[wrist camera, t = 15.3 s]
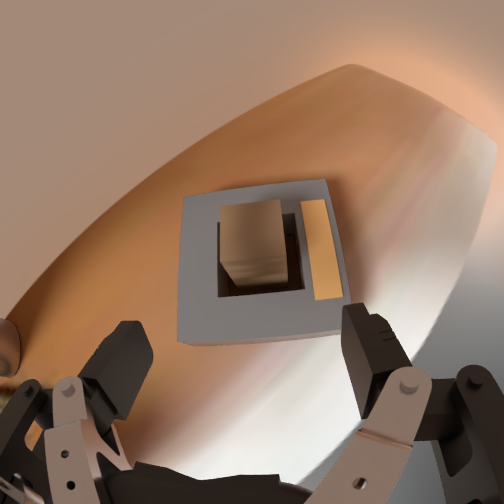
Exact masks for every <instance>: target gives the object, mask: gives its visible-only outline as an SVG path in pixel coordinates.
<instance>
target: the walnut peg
mask: <svg viewBox="0 0 504 504" xmlns="http://www.w3.org/2000/svg"><path fill="white" fill-rule="evenodd" d="M220 262H221V264H222V265H223V267H224V268H225V270H226V271H227V273H228V274H229V276H230V277H231V279H232V280H233V282H234V283H235V285H236V286H237V288H238V289H239V291H240V292H241V293H243V292H255V291H266V290H277V289H287V288H288V274H287V258H286V248H285V239H284V230H283V221H282V213H281V205H280V199H278V200H269V201H260V202H251V203H243V204H235V205H228V206H220Z"/></svg>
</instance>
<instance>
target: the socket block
mask: <svg viewBox="0 0 504 504" xmlns="http://www.w3.org/2000/svg"><path fill="white" fill-rule="evenodd" d="M278 199H280V205H281V213H282V221H283V230H284V235H286V234H295V238H296V245H297V252H298V260H299V268H300V276H301V284H302V290H294V291H285V292H275V293H265V294H255V295H244V296H232V297H228V273H227V271H226V270H225V268H224V267H223V265H222V264H221V262H220V206H228V205H235V204H243V203H251V202H260V201H269V200H278ZM349 304H352V303H351V297H350V290H349V284H348V279H347V273H346V267H345V262H344V257H343V252H342V247H341V242H340V237H339V233H338V228H337V224H336V219H335V215H334V211H333V206H332V202H331V198H330V194H329V190H328V187H327V183H326V179H316V180H305V181H295V182H285V183H276V184H268V185H259V186H252V187H244V188H237V189H230V190H223V191H216V192H210V193H204V194H198V195H192V196H186V197H184V201H183V212H182V224H181V238H180V254H179V275H178V310H177V342H181V343H184V344H188V345H192V346H213V345H236V344H253V343H267V342H278V341H289V340H298V339H307V338H316V337H323V336H331V335H338V334H341V326H342V308H343V305H349Z"/></svg>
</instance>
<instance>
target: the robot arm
mask: <svg viewBox="0 0 504 504" xmlns="http://www.w3.org/2000/svg"><path fill="white" fill-rule="evenodd" d="M341 347H342V353H343V356H344V359H345V363H346V366H347V369H348V373H349V376H350V380H351V383H352V387H353V390H354V394H355V398H356V401H357V405H358V409H359V412H360V416H361V420H362V419H367V420H366V422H365V424H364V425H363V427H362V428H361V430H358V431H357V432H356V433H355V435H354V436H353V438H352V440H351V441H350V442H349V444H348V446H347V447H346V449H345V450H344V452H343V453H342V455H341V456H340V458H339V459H338V460H337V462H336V463H335V465H334V466H333V467H332V469H331V470H330V472H329V473H328V474H327V476H326V477H325V478H324V480H323V481H322V482H321V483H320V485H319V486H318V487H317V488H316V490H315V491H314V492H312V491H310V490H308V489H306V488H303V487H301V486H298V485H294V484H290V483H284V482H281V481H280V477H279V474H272V475H236V476H230V477H223V478H216V479H208V480H197V479H194V478H192V477H189V476H186V475H183V474H181V473H178V472H176V471H173V470H171V469H169V468H166V467H160V466H155V465H150V464H146V463H141V462H137V461H136V463H135V466H134V468H133V469H132V468H131V466H130V465H129V463H128V462H127V460H126V457H125V454H124V451H123V449H122V446H121V443H120V440H119V437H118V434H117V431H116V428H115V426H114V424H113V423H112V422H113V420H114V418H115V419H120V420H125V421H126V419H127V416H128V414H129V412H130V410H131V407H132V405H133V403H134V401H135V399H136V397H137V394H138V392H139V390H140V388H141V386H142V384H143V382H144V379H145V377H146V375H147V373H148V371H149V369H150V367H151V365H152V362H153V350H152V348H151V345H150V343H149V341H148V338H147V336H146V333H145V331H144V328H143V326H142V324H141V323H140V322H139V321H121V322H120V323H119V325H118V326H117V327H116V329H115V330H114V331H113V332H112V333H111V334H110V335H108V336H107V337H106V338H105V339H104V340H103V341H102V342H101V344H100V345H99V346H98V348H97V349H96V351H95V352H94V355H92V356H91V358H90V359H89V360H88V362H87V363H86V365H85V366H84V367H83V369H82V370H81V372H80V373H79V375H78V376H77V377H76V376H69V377H66V378H64V379H62V380H60V381H59V382H58V383H57V384H56V385H55V387H54V389H43V387H42V386H41V385H40V383H39V382H38V381H37V380H35V379H30V380H27V381H25V382H23V383H22V384H21V385H20V386H19V387H18V389H17V390H16V392H15V393H14V395H13V396H12V397H11V399H10V400H9V402H8V403H7V405H6V406H5V408H4V409H3V411H2V413H1V414H0V504H46V502H47V499H48V496H49V494H50V491H51V494H52V499H53V504H385V503H386V501H387V499H388V497H389V496H390V494H391V492H392V490H393V489H394V487H395V485H396V483H397V481H398V479H399V477H400V475H401V473H402V471H403V469H404V467H405V465H406V463H407V460H408V458H409V456H410V454H411V451H412V448H413V445H412V443H413V441H431V445H432V448H433V451H434V455H435V458H436V462H437V466H438V469H439V473H440V477H441V481H442V486H443V490H444V495H445V500H446V504H504V395H503V393H502V391H501V390H500V388H499V386H498V384H497V383H496V381H495V379H494V378H493V376H492V375H491V373H490V372H489V371H488V370H487V369H486V368H484V367H482V366H479V365H468V366H465V367H464V368H462V369H461V370H460V371H459V372H458V374H457V376H456V378H453V379H431V378H430V377H429V375H428V374H427V373H426V372H425V371H423V370H421V369H419V368H416V367H413V366H412V364H411V362H410V360H409V359H408V357H407V355H406V353H405V351H404V349H403V348H402V346H401V344H400V342H399V340H398V339H397V338H396V335H395V333H394V332H393V331H392V328H391V327H390V325H389V323H388V321H387V320H386V319H384V318H383V317H381V316H380V315H379V314H371V315H369V313H368V311H367V309H366V307H365V305H364V304H363V303H356V304H349V305H343V308H342V326H341ZM19 361H20V339H19V334H18V331H17V329H16V327H15V325H14V324H13V323H12V322H10V321H8V320H5V319H2V318H0V376H1V377H7V378H11V377H13V376H14V375H15V373H16V372H17V369H18V366H19ZM34 420H35V421H36V422H37V424H38V425H39V426H40V427H41V428H42V429H43V431H42V433H41V435H40V437H39V439H38V441H37V443H36V445H35V447H34V449H33V451H30V450H29V449H28V448H27V446H26V445H25V442H24V438H25V435H26V433H27V431H28V430H29V428H30V426H31V424H32V423H33V421H34Z"/></svg>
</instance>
